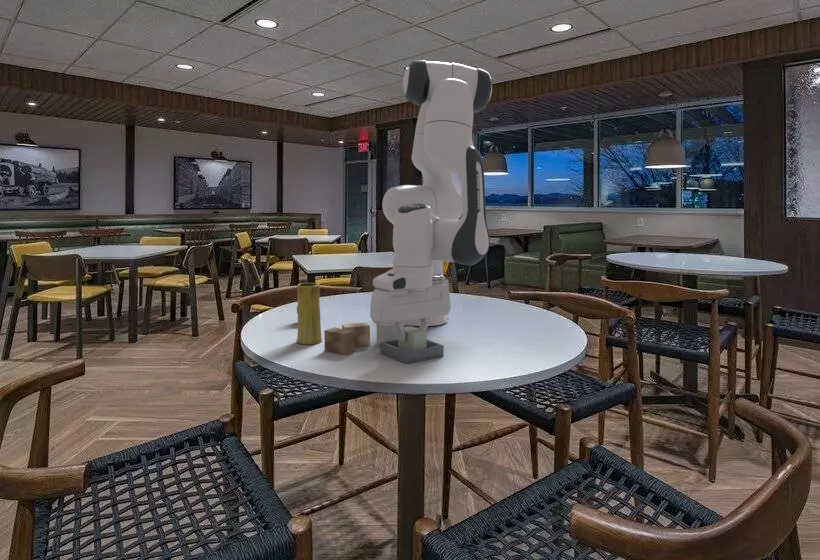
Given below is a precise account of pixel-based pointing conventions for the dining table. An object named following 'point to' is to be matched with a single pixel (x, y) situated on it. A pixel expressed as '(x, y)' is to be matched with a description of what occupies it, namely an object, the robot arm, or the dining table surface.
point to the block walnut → (339, 341)
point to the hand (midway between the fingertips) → (412, 338)
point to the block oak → (359, 333)
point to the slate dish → (411, 352)
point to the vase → (308, 314)
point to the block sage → (413, 339)
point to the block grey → (386, 333)
